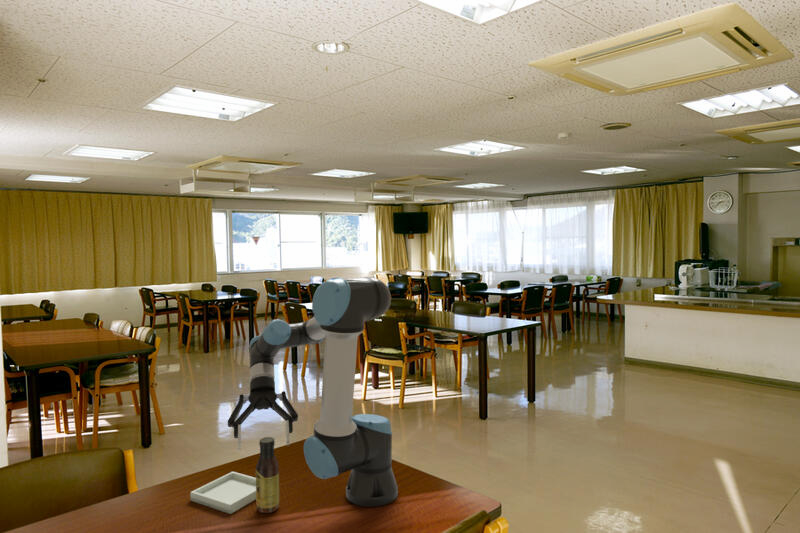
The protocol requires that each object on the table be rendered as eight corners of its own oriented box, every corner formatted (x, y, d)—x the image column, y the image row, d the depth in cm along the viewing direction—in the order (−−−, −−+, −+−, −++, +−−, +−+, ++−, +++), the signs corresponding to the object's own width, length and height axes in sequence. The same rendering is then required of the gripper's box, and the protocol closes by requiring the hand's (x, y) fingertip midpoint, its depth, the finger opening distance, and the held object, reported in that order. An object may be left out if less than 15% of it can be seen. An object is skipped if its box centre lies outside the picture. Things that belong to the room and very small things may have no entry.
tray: (271, 490, 159) (271, 482, 159) (230, 514, 145) (230, 505, 145) (232, 479, 166) (232, 471, 166) (190, 500, 152) (190, 492, 152)
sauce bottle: (258, 504, 150) (257, 435, 150) (280, 502, 151) (279, 434, 150) (254, 515, 144) (253, 443, 143) (277, 514, 145) (277, 442, 144)
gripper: (301, 384, 172) (306, 446, 159) (221, 390, 166) (219, 455, 152) (303, 372, 167) (308, 435, 153) (219, 377, 160) (217, 444, 147)
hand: (264, 445), depth 153 cm, fingers open, 13 cm apart
